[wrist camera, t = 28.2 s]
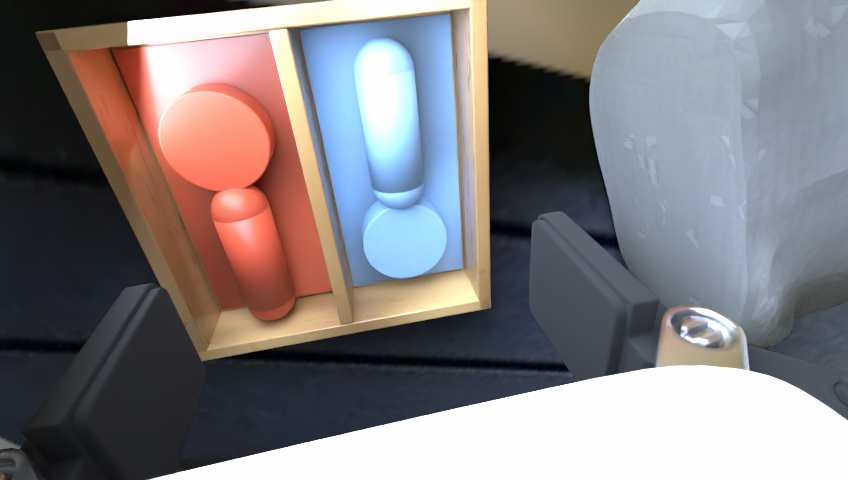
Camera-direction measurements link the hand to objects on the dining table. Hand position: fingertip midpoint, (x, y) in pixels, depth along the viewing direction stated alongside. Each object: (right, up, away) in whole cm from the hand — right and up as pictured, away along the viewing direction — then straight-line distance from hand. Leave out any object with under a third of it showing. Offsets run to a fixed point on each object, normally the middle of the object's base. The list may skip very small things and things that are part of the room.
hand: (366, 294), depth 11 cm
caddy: (-3, +4, +8) cm, 9 cm away
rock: (+15, +7, +10) cm, 20 cm away
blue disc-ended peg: (0, +5, +7) cm, 9 cm away
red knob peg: (-6, +3, +7) cm, 10 cm away
